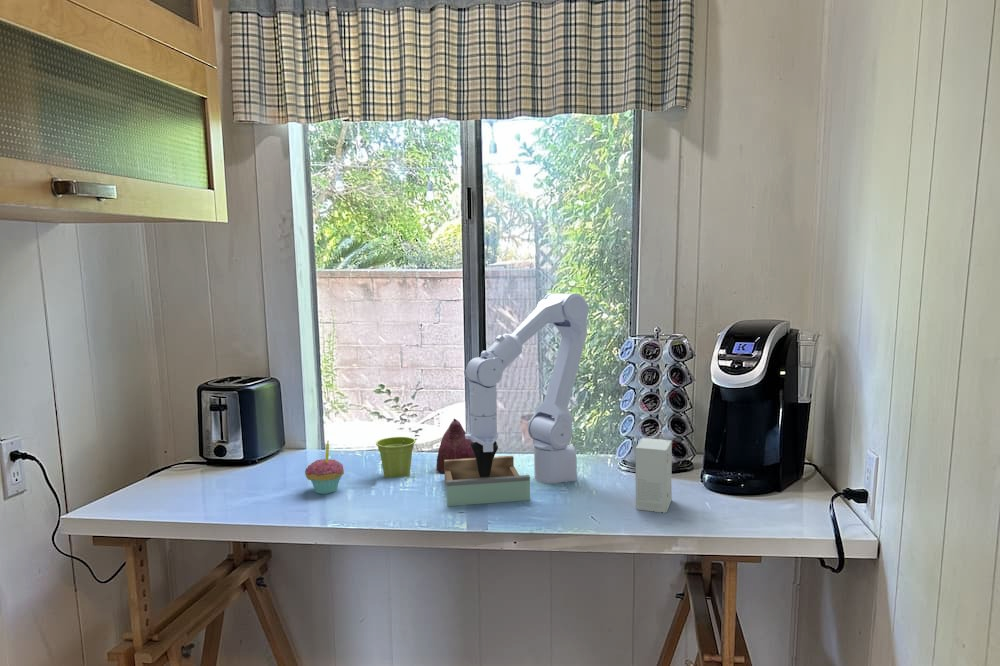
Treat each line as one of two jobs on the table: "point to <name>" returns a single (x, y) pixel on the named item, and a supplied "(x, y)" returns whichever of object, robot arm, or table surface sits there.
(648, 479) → the small box
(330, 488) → the cupcake
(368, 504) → the table surface
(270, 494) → the table surface
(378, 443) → the plant pot
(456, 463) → the cart bed
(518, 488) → the green board
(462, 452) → the vegetable
